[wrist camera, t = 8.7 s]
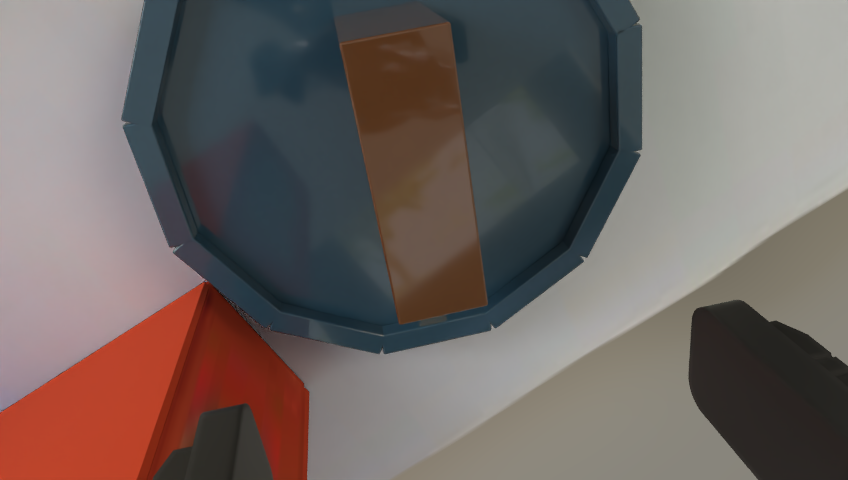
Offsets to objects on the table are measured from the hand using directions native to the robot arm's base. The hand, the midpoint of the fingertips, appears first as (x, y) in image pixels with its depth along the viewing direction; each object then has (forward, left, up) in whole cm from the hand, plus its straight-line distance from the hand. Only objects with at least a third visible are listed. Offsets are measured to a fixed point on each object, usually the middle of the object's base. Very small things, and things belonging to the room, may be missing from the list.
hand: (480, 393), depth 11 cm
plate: (+1, 0, -15) cm, 15 cm away
